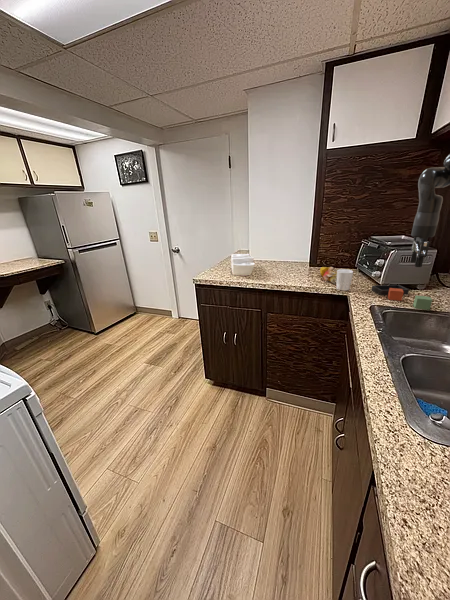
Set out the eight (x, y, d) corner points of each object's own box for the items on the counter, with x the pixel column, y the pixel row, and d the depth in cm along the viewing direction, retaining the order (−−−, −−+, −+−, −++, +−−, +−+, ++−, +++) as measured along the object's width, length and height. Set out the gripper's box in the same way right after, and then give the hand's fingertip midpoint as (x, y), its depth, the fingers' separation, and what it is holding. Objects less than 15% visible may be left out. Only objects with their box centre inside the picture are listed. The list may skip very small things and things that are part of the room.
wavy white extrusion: (231, 265, 198) (230, 252, 194) (251, 264, 197) (251, 251, 193) (230, 277, 165) (230, 261, 162) (255, 276, 165) (255, 261, 161)
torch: (322, 279, 165) (337, 286, 141) (312, 273, 165) (324, 279, 141) (329, 268, 163) (345, 273, 139) (318, 262, 163) (332, 266, 139)
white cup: (353, 289, 134) (356, 271, 130) (344, 292, 130) (347, 273, 127) (341, 285, 140) (343, 268, 137) (331, 288, 137) (333, 270, 133)
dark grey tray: (397, 288, 131) (398, 284, 131) (408, 294, 124) (409, 289, 123) (371, 290, 131) (372, 285, 131) (380, 295, 124) (381, 290, 123)
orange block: (400, 297, 120) (402, 288, 118) (401, 300, 116) (403, 291, 114) (387, 296, 122) (389, 287, 120) (388, 299, 118) (390, 290, 117)
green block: (427, 306, 109) (430, 296, 107) (429, 310, 106) (432, 300, 104) (413, 304, 111) (415, 295, 110) (414, 308, 108) (417, 298, 106)
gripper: (443, 225, 90) (431, 269, 96) (432, 222, 102) (422, 261, 108) (417, 225, 93) (408, 268, 99) (409, 222, 105) (401, 260, 111)
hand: (415, 264), depth 103 cm, fingers open, 8 cm apart
